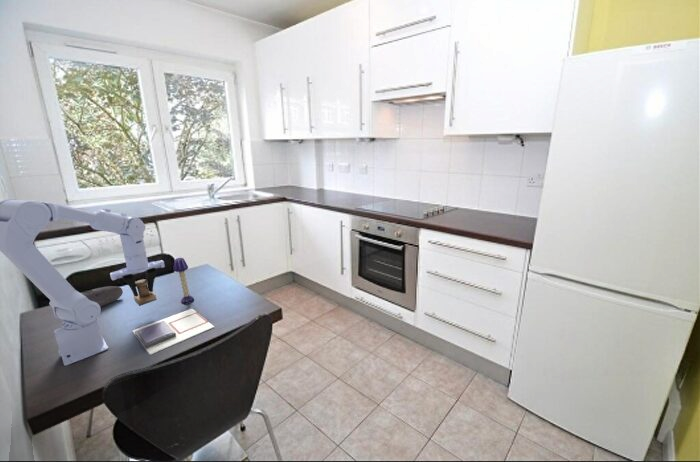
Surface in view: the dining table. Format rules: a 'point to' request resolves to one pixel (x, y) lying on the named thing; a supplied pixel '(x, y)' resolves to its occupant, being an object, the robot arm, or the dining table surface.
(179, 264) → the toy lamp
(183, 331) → the paper sheet
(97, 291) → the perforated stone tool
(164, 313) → the dining table surface
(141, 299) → the stamp
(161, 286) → the dining table surface
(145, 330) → the ink pad
